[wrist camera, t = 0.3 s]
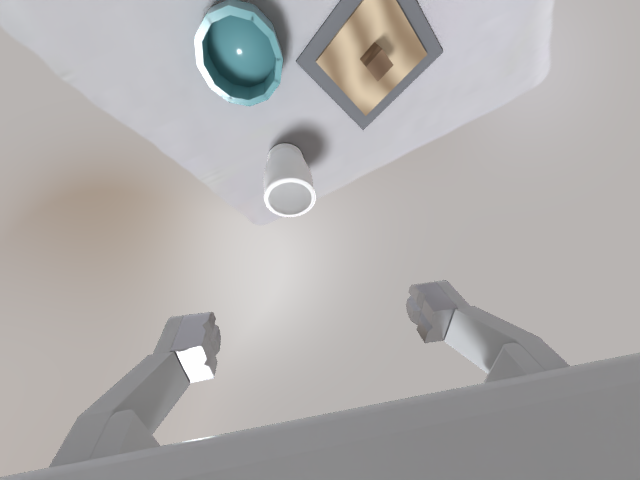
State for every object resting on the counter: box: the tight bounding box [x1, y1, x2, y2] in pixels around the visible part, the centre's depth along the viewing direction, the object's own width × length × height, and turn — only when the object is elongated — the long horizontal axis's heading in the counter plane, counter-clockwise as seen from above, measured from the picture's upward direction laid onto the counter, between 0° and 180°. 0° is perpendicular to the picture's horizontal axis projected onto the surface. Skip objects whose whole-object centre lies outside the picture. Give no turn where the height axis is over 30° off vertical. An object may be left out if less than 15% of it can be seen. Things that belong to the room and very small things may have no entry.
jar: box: [263, 143, 316, 217], centre depth 57 cm, size 11×10×15 cm
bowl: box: [194, 0, 283, 106], centre depth 43 cm, size 13×13×6 cm
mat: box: [296, 0, 443, 130], centre depth 49 cm, size 20×20×1 cm
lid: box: [315, 0, 427, 116], centre depth 47 cm, size 15×15×5 cm
